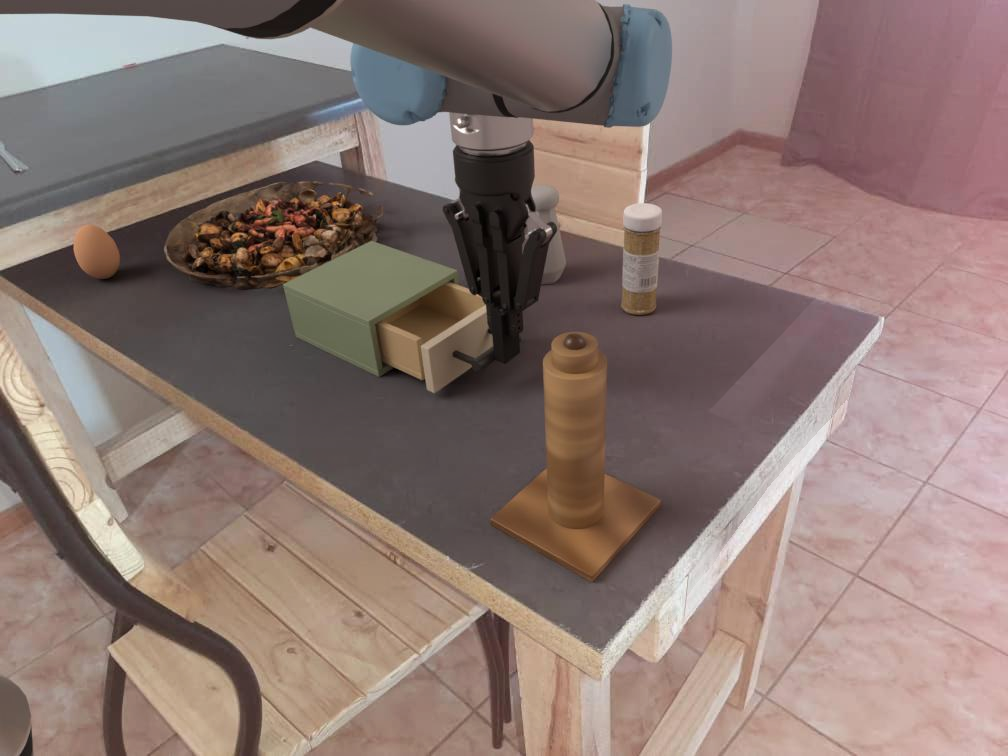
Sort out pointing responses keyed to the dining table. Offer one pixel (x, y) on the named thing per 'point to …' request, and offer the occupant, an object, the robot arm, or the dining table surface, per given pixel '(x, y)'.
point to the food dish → (268, 235)
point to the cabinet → (359, 300)
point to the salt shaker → (555, 260)
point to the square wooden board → (577, 546)
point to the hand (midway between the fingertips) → (507, 356)
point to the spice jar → (640, 257)
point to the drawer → (438, 336)
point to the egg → (96, 252)
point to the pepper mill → (575, 429)
